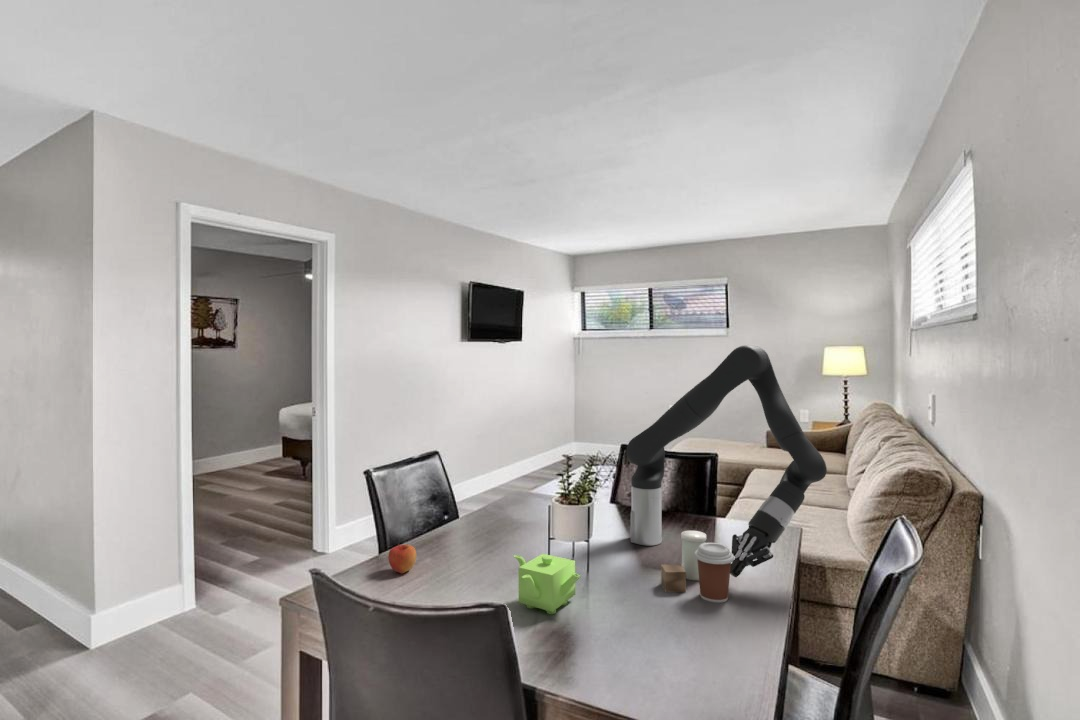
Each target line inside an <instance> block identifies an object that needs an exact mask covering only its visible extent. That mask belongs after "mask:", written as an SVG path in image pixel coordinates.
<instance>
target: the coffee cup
mask: <svg viewBox="0 0 1080 720" xmlns="http://www.w3.org/2000/svg"><path fill="white" fill-rule="evenodd" d="M731 552H732V551H730V548H729V547H728V546H727V545H725V544H723V543H718V542H706V543H703V544H701V545H700V546H699V549H698V550H696V551H695V553H694V556H695V557H696V559H697V561H698V573H699V580H698V583H699V596H700V597H701V599H702V600H704V601H706V602H710V603H715V604H718V603H719V604H721V603H725V602H727V601H728V599H729V588H730V578H731V574H730V568H731V563H732V562H733V561H734V559H735V557H734V555H733V554H732V553H731Z"/></svg>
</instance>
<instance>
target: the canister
mask: <svg viewBox="0 0 1080 720" xmlns="http://www.w3.org/2000/svg"><path fill="white" fill-rule="evenodd" d="M680 537H681V565H682V567H683V568H684V570H685V571H686V580H689V581H699V573H698V561H697V559H696V557H695V556H694V553H695V551H696V550H698V549H699V546H700V545H701V544H703V543H707V542H706V540H707V534H706V533H705V532H702V531H700V530H684V531H682V532H681V533H680Z"/></svg>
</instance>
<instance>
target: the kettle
mask: <svg viewBox="0 0 1080 720" xmlns="http://www.w3.org/2000/svg"><path fill="white" fill-rule="evenodd" d="M513 557H514V558H515V559H516V560H517V562H518V563H519V567H518V604H521V605H526V608H527V609H535V608H537V609H540V610H544V611H546V614H548V615H555V614H556V613H557V609H558V608H560V607H561V606H566V605H568V604H569V601H570V599H572V598H573V597H574V596H575V595H576V583H577V581H578V580H579V578H580V577H581V575H580V574H578V573H576V561H575V560H572V559H568V558H565V557H559V556H555V555H550V554H545V553H541V554H540V555H538V556H536V557H534V558H533V559H531V560H529V561H528V562H526V560H525V558H523V556H521V555H519V554H514V555H513Z"/></svg>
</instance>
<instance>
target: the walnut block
mask: <svg viewBox="0 0 1080 720" xmlns="http://www.w3.org/2000/svg"><path fill="white" fill-rule="evenodd" d="M660 566H661V567H660V571H661V572H660V578H661V579H660V583H661V586H662V588H663V590H664V592H665V593H686V592H687V579H686V571H685V570H684V568H683V567H682V563H681V564H676V563H675V564H660Z"/></svg>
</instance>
